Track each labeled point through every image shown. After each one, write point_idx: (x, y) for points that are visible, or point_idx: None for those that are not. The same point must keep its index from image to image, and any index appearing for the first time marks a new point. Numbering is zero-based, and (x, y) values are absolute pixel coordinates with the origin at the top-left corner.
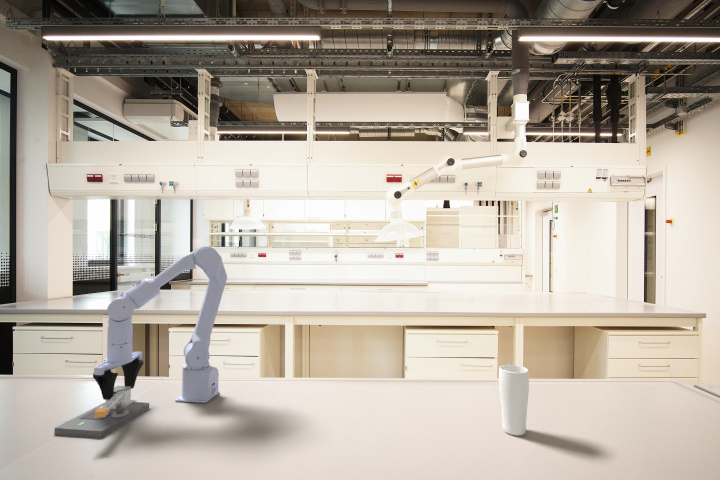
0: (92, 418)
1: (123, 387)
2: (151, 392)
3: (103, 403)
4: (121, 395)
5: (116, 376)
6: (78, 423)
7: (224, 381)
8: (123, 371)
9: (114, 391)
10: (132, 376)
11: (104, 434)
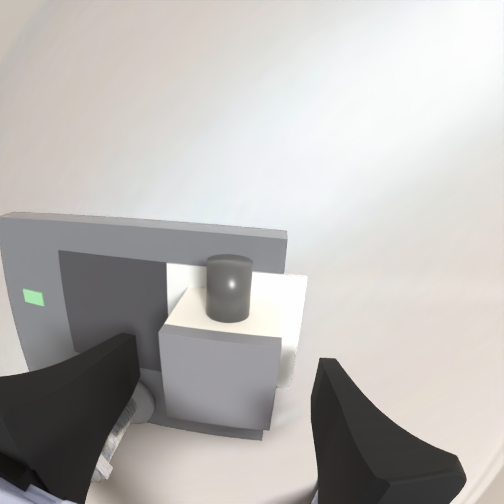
0: (70, 311)
1: (247, 401)
2: (455, 335)
3: (236, 238)
4: None
5: (80, 497)
6: (34, 281)
7: (476, 476)
8: (350, 432)
9: (166, 386)
10: (321, 459)
11: None
